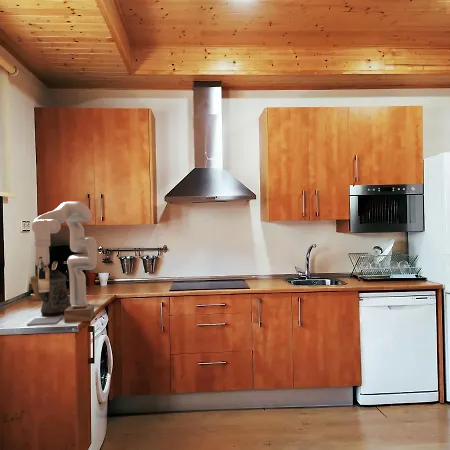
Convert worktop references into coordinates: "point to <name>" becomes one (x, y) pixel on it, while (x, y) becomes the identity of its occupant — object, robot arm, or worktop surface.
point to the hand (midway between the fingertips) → (43, 278)
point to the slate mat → (44, 321)
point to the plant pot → (35, 286)
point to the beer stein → (55, 295)
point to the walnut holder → (79, 313)
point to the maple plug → (44, 282)
